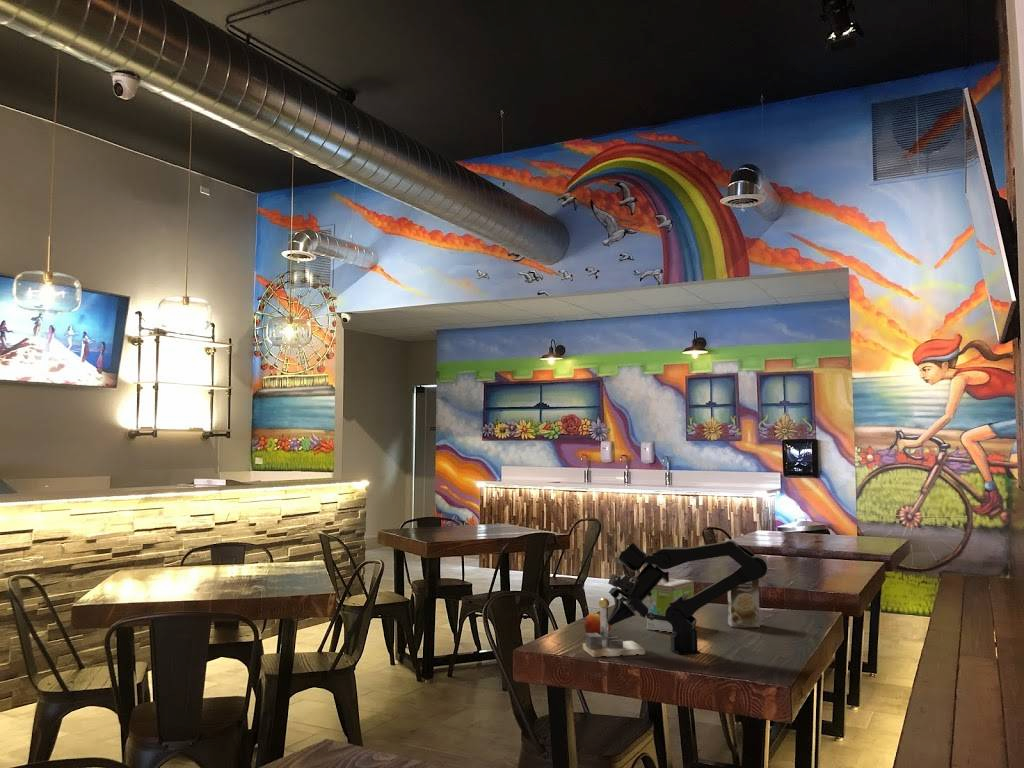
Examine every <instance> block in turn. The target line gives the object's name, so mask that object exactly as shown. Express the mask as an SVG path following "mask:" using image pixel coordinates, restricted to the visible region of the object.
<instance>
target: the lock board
mask: <svg viewBox="0 0 1024 768" xmlns="http://www.w3.org/2000/svg"><path fill="white" fill-rule="evenodd" d="M584 635H585V637H584V638H585V643H582V650H584V651H585V652H587V654H589V655H590V656H592V657H593V658H601V656H606V657H620V655H623V656H635V655H636V654H639V655H646V648H645V647H643V646H642V645H640V644H638V643H636V642H635V641H633V640H625V641H624V640H623V639H619V636H608V647H602V636H601V635H599V634H598V633H586V632H585V633H584Z"/></svg>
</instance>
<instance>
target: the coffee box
mask: <svg viewBox="0 0 1024 768" xmlns="http://www.w3.org/2000/svg"><path fill="white" fill-rule="evenodd" d="M729 574H730V573H727V576H728V575H729ZM759 581H760V578H759V579H756V580H754V581H751V582H747V583H744V584H741V585H739V586H737V587H735V588H734V589H732V590H730V591H728V592H727V624H728V625H729V626H730V627H731V628H747V627H759V628H760V589H759V588H760V586H759V584H760V582H759Z"/></svg>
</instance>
